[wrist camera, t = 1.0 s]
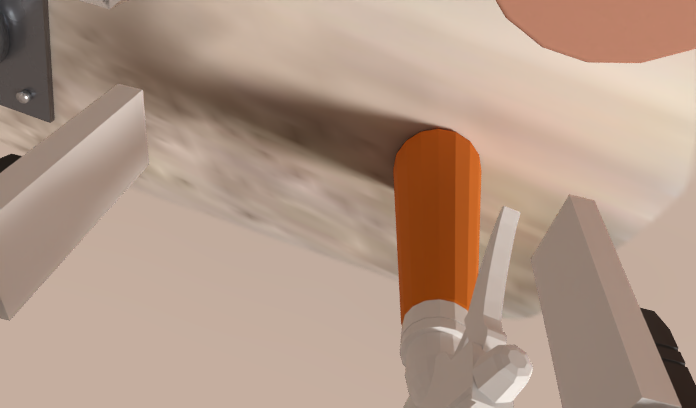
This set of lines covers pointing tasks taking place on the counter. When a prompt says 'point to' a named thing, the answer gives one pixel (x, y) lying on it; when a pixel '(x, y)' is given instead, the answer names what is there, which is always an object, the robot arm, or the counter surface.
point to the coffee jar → (607, 27)
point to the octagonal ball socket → (105, 3)
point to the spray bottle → (452, 280)
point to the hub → (26, 58)
